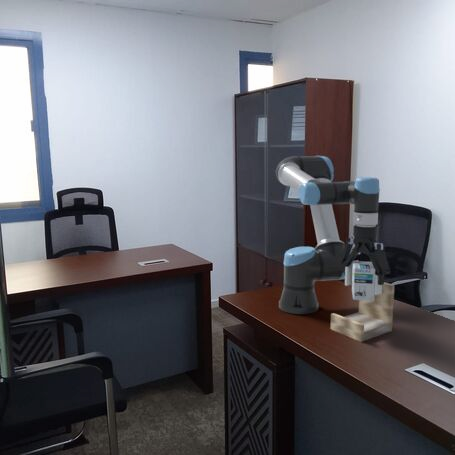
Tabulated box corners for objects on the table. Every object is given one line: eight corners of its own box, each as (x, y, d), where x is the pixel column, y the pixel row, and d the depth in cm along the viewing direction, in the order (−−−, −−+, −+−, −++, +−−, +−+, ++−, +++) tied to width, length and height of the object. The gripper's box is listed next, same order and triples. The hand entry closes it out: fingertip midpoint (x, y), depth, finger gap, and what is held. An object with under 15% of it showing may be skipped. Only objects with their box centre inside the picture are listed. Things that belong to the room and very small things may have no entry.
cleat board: (330, 329, 157) (332, 283, 154) (361, 319, 165) (362, 276, 163) (360, 342, 146) (363, 293, 143) (391, 330, 155) (394, 285, 152)
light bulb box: (374, 301, 148) (376, 269, 146) (352, 300, 149) (354, 268, 147) (371, 291, 158) (372, 261, 156) (350, 290, 159) (352, 260, 158)
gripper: (329, 221, 157) (328, 282, 161) (389, 231, 138) (385, 300, 141) (344, 219, 161) (342, 279, 165) (404, 228, 142) (400, 296, 146)
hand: (362, 289), depth 153 cm, fingers closed on light bulb box, 12 cm apart
